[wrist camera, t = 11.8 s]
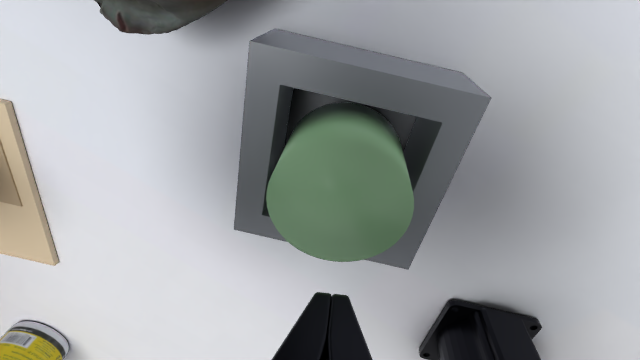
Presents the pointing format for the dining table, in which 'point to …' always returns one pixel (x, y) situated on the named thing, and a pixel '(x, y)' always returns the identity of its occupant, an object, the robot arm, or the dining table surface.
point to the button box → (362, 87)
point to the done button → (341, 185)
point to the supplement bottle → (32, 343)
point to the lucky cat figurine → (155, 14)
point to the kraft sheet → (20, 198)
